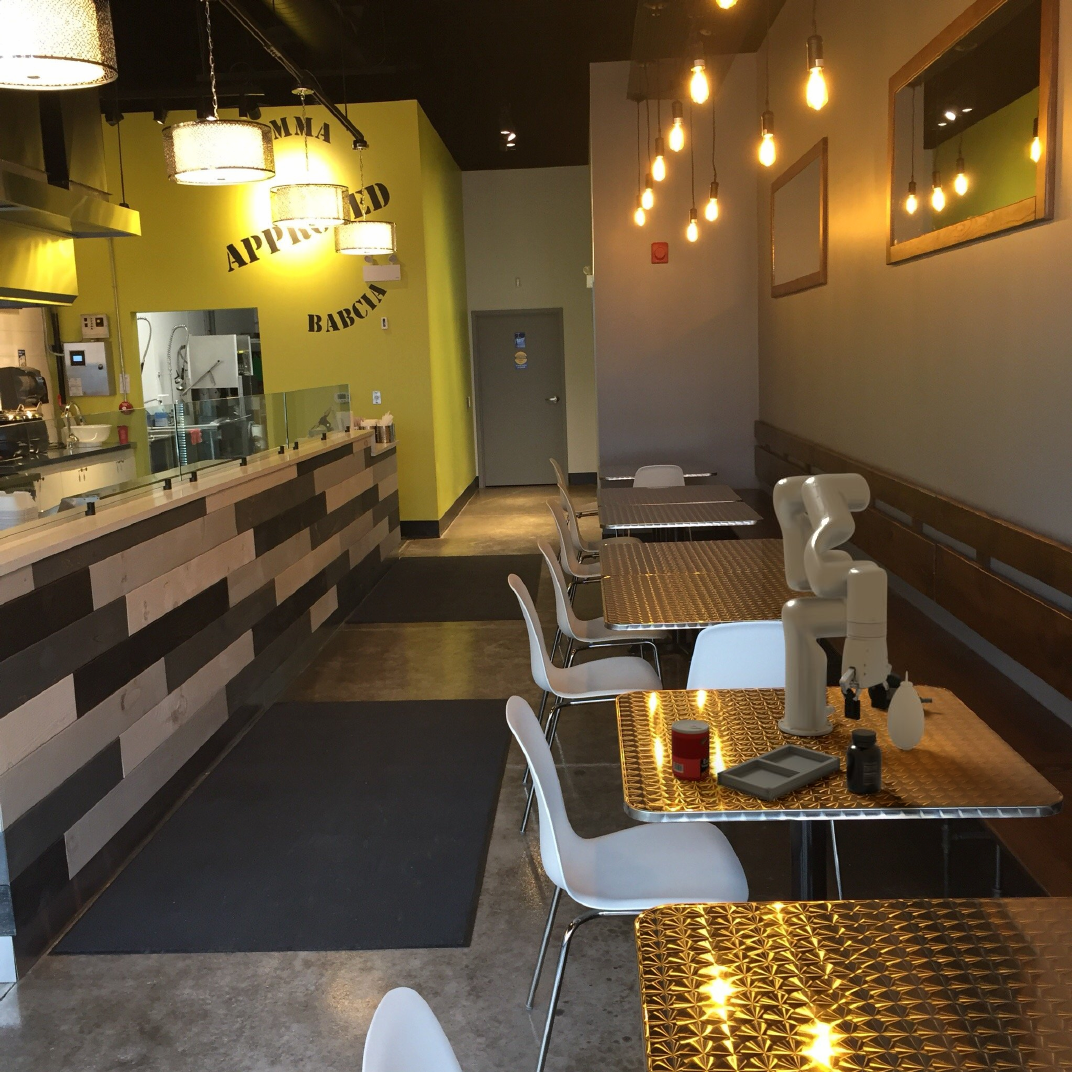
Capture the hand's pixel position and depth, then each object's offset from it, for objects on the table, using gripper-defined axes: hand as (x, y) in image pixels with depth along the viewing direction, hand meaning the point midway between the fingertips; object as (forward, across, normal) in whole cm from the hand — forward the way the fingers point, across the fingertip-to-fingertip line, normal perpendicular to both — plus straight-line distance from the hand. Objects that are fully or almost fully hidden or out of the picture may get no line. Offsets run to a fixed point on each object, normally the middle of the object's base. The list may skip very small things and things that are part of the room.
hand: (865, 713), depth 212 cm
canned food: (+16, +17, -31) cm, 39 cm away
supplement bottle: (+16, -1, -1) cm, 16 cm away
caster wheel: (+15, -54, -23) cm, 60 cm away
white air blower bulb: (+16, -28, -7) cm, 32 cm away
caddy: (+16, +5, -17) cm, 24 cm away
